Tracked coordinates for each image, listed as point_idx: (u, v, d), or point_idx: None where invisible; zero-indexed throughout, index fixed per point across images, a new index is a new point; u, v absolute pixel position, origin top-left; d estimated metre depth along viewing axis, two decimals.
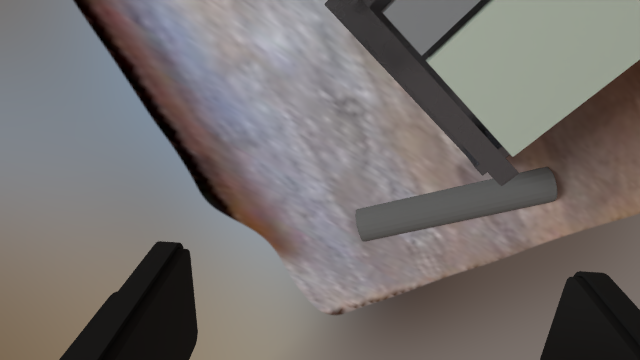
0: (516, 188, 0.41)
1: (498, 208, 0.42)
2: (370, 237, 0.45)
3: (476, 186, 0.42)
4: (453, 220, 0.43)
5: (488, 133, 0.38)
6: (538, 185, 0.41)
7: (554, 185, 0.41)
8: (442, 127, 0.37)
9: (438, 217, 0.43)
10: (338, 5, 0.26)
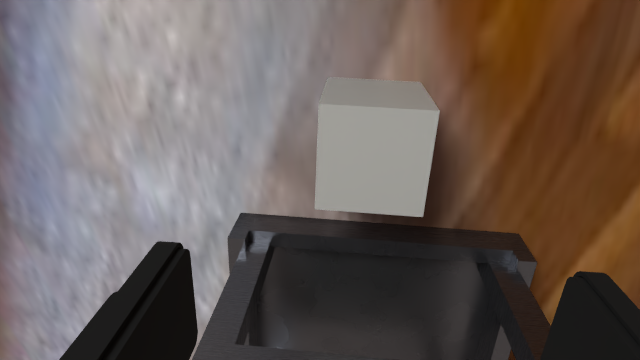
0: None
1: None
2: None
3: None
4: None
5: None
6: None
7: None
8: None
9: None
10: None
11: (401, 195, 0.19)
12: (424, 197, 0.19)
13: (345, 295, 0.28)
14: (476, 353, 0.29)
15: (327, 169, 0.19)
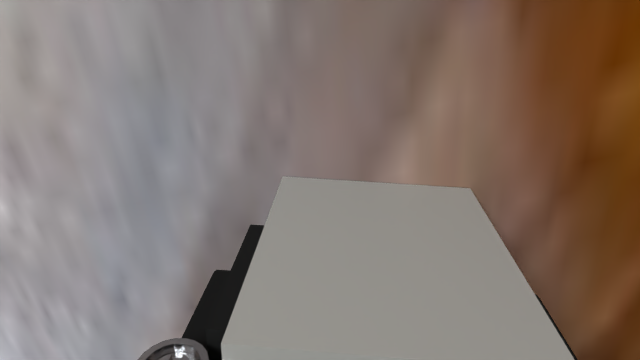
0: None
1: None
2: None
3: None
4: None
5: None
6: None
7: None
8: None
9: None
10: None
11: None
12: None
13: None
14: None
15: None
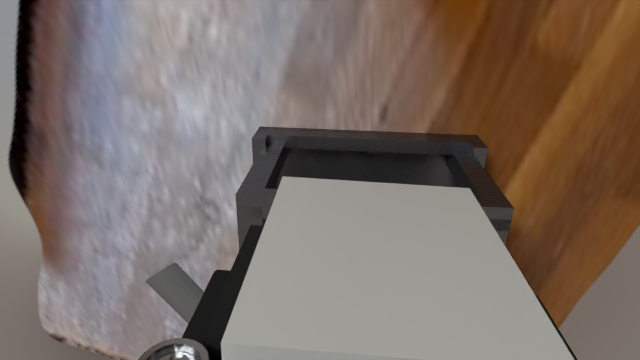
0: None
1: None
2: (153, 288, 0.41)
3: None
4: None
5: None
6: None
7: None
8: None
9: None
10: (240, 196, 0.25)
11: None
12: None
13: None
14: None
15: None
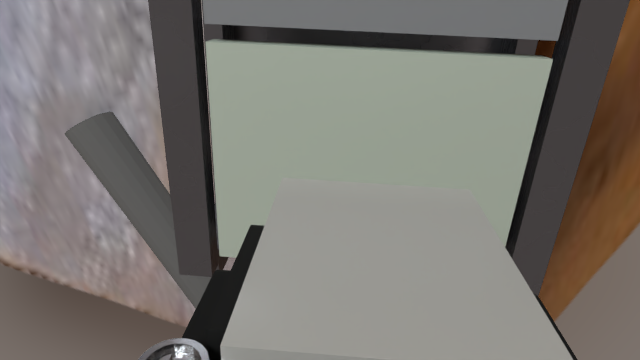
0: None
1: (187, 290, 0.32)
2: (75, 145, 0.28)
3: None
4: (150, 245, 0.31)
5: None
6: None
7: None
8: None
9: (146, 228, 0.30)
10: None
11: None
12: None
13: None
14: None
15: None
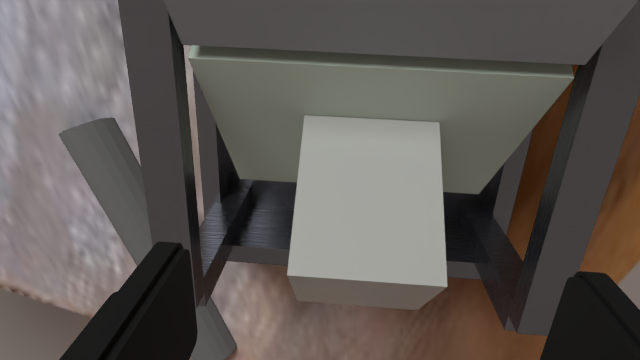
0: (202, 324, 0.31)
1: None
2: (68, 147, 0.26)
3: None
4: (135, 260, 0.29)
5: (253, 213, 0.26)
6: (212, 346, 0.32)
7: None
8: (203, 161, 0.23)
9: (135, 243, 0.28)
10: None
11: (394, 304, 0.17)
12: (420, 306, 0.17)
13: None
14: None
15: (307, 293, 0.16)
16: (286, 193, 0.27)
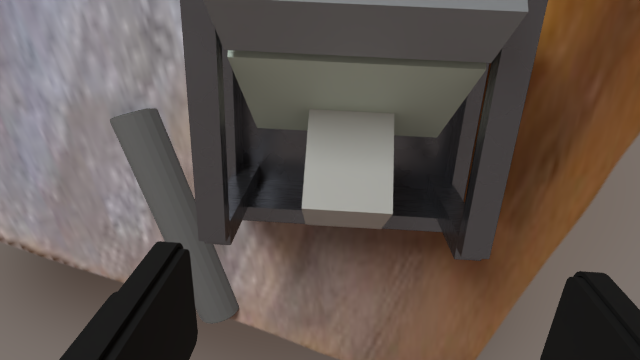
0: (212, 286, 0.37)
1: None
2: (117, 130, 0.32)
3: (209, 246, 0.36)
4: (162, 228, 0.35)
5: (261, 186, 0.32)
6: (219, 306, 0.37)
7: (220, 319, 0.38)
8: None
9: (164, 213, 0.34)
10: None
11: (366, 225, 0.27)
12: (382, 226, 0.27)
13: None
14: None
15: (312, 219, 0.26)
16: (288, 170, 0.33)
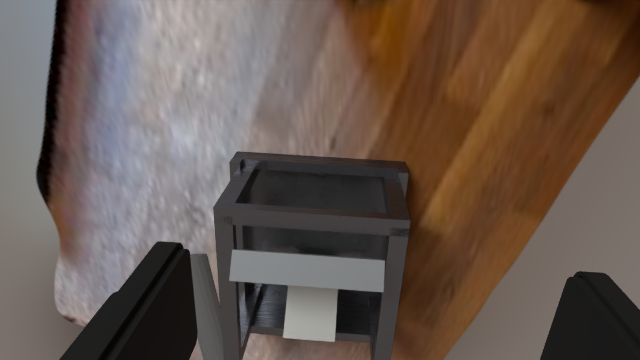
0: None
1: (206, 350, 0.54)
2: None
3: None
4: None
5: (261, 304, 0.50)
6: None
7: None
8: None
9: (199, 315, 0.52)
10: (216, 208, 0.34)
11: None
12: None
13: (303, 204, 0.45)
14: (386, 242, 0.46)
15: None
16: (278, 292, 0.50)
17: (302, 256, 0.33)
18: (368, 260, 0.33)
